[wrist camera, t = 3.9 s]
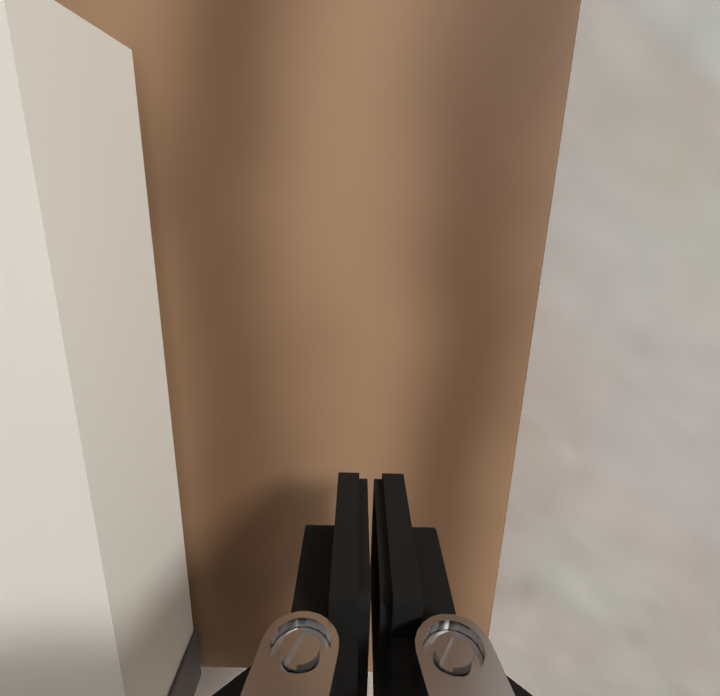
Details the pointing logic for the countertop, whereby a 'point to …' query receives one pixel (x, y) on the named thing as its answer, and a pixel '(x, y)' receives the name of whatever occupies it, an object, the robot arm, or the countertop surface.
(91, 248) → the folding leg
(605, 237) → the countertop surface
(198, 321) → the wooden board
